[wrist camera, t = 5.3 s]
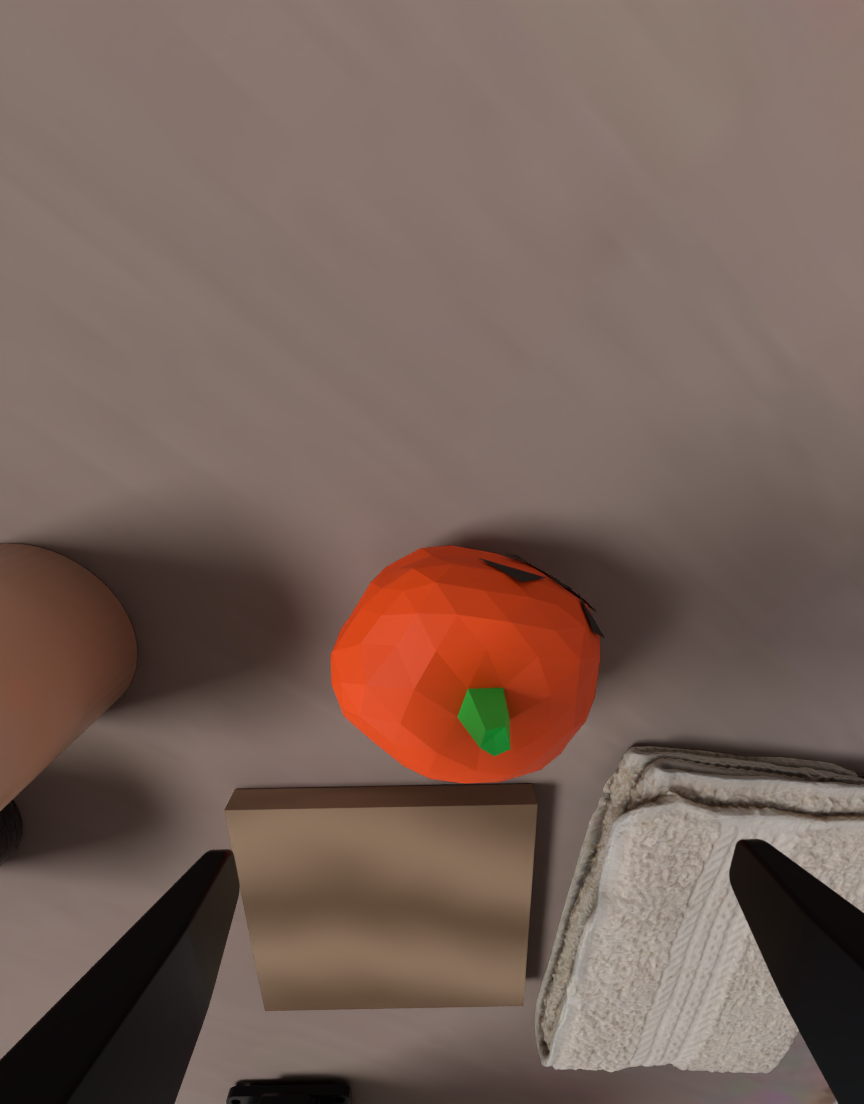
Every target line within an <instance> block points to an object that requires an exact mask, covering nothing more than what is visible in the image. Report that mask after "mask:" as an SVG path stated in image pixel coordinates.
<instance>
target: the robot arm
mask: <svg viewBox="0 0 864 1104" xmlns="http://www.w3.org/2000/svg"><path fill="white" fill-rule="evenodd" d="M729 879H730V884H731V887H732V889H733V892H734V894H735V896H736V898H737V901H738V903H739V905H740V907H741V910H742V912H743V914H744V916H745V919H746V921H747V923H748V925H749V928H750V930H751V932H752V934H753V936H754V939H755V941H756V943H757V945H758V948H759V950H760V952H761V954H762V957H763V959H764V961H765V963H766V966H767V968H768V970H769V972H770V974H771V977H772V979H773V981H774V983H775V985H776V987H777V989H778V992H779V994H780V996H781V998H782V1000H783V1001H784V1003H785V1005H786V1007H787V1009H788V1011H789V1013H790V1015H791V1017H792V1019H793V1020H794V1022H795V1024H796V1026H797V1028H798V1030H799V1032H800V1033H801V1035H802V1037H803V1039H804V1041H805V1043H806V1045H807V1046H808V1048H809V1050H810V1052H811V1054H812V1056H813V1057H814V1059H815V1061H816V1063H817V1065H818V1067H819V1069H820V1070H821V1072H822V1074H823V1076H824V1078H825V1080H826V1081H827V1083H828V1085H829V1087H830V1089H831V1091H832V1093H833V1094H834V1096H835V1098H836V1100H837V1102H838V1104H864V913H863V912H862V911H861V910H859V909H858V908H857V907H855V906H854V905H852V904H851V903H850V902H848V901H847V900H846V899H844V898H843V897H842V896H840V895H839V894H837V893H836V892H835V891H833V890H832V889H831V888H829V887H828V886H827V885H825V884H824V883H822V882H821V881H820V880H818V879H817V878H816V877H814V876H813V875H812V874H810V873H809V872H807V871H806V870H805V869H803V868H802V867H801V866H799V865H798V864H797V863H795V862H794V861H792V860H791V859H790V858H788V857H787V856H786V855H784V854H783V853H782V852H780V851H779V850H777V849H776V848H775V847H773V846H772V845H771V844H769V843H768V842H766V841H764V840H761V839H741V840H739V841H738V842H737V843H736V845H735V849H734V853H733V857H732V861H731V865H730V869H729ZM239 888H240V883H239V877H238V872H237V867H236V862H235V857H234V853H233V852H232V851H231V850H228V849H225V850H210V851H208V852H206V853H205V854H204V855H203V856H202V857H201V858H200V859H199V860H198V861H197V862H196V863H195V864H194V865H193V866H192V867H191V868H190V869H189V870H188V871H187V872H186V873H185V874H184V875H183V876H182V877H181V878H180V879H179V880H178V881H177V882H176V883H175V884H174V885H173V886H172V887H171V888H170V889H169V890H168V891H167V892H166V893H165V894H164V895H163V896H162V897H161V898H160V899H159V900H158V901H157V902H156V903H155V904H154V905H153V906H152V907H151V908H150V909H149V910H148V911H147V912H146V913H145V914H144V915H143V916H142V917H141V918H140V919H139V920H138V921H137V922H136V923H135V924H134V925H133V926H132V927H131V928H130V929H129V930H128V931H127V932H126V933H125V934H124V935H123V936H122V937H121V938H120V940H119V941H118V942H117V943H116V944H115V945H114V946H113V947H112V948H111V949H110V950H109V951H108V952H107V953H106V954H105V955H104V956H103V957H102V958H101V959H100V960H99V961H98V962H97V963H96V964H95V965H94V966H93V967H92V968H91V969H90V970H89V971H88V972H87V973H86V974H85V975H84V976H83V977H82V978H81V979H80V980H79V981H78V982H77V983H76V984H75V985H74V986H73V987H72V988H71V989H70V990H69V991H68V992H67V993H66V994H65V995H64V996H63V997H62V998H61V999H60V1000H59V1001H58V1002H57V1003H56V1004H55V1005H54V1006H53V1007H52V1008H51V1009H50V1010H49V1011H48V1012H47V1013H46V1014H45V1015H44V1016H43V1017H42V1018H41V1019H40V1020H39V1021H38V1022H37V1023H36V1024H35V1025H34V1026H33V1027H32V1028H31V1029H30V1030H29V1031H28V1032H27V1033H26V1034H25V1035H24V1036H23V1037H22V1038H21V1039H20V1040H19V1041H18V1042H17V1044H16V1045H15V1046H14V1047H13V1048H12V1049H11V1050H10V1051H9V1052H8V1053H7V1054H6V1055H5V1056H4V1057H3V1058H2V1059H1V1060H0V1104H174V1103H175V1101H176V1098H177V1095H178V1092H179V1089H180V1087H181V1084H182V1081H183V1078H184V1075H185V1073H186V1070H187V1067H188V1064H189V1061H190V1059H191V1056H192V1053H193V1050H194V1047H195V1045H196V1042H197V1039H198V1036H199V1033H200V1031H201V1028H202V1025H203V1022H204V1019H205V1016H206V1013H207V1010H208V1007H209V1004H210V1000H211V997H212V993H213V990H214V986H215V982H216V979H217V975H218V971H219V967H220V964H221V960H222V956H223V952H224V949H225V945H226V941H227V937H228V934H229V930H230V926H231V922H232V919H233V915H234V911H235V908H236V904H237V900H238V896H239ZM226 1103H227V1104H352V1096H351V1089H350V1087H349V1086H348V1085H345V1084H306V1085H257V1086H234V1087H232V1088H230V1090H229V1093H228V1097H227V1101H226Z"/></svg>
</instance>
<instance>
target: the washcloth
mask: <svg viewBox="0 0 864 1104" xmlns="http://www.w3.org/2000/svg"><path fill="white" fill-rule="evenodd" d="M603 792H604V793H605V794H604V796H603V797H602V798H600V800H599V802H598V808H597V809H596V811H595V812H594V814H593V816H592V818H591V820H590V822H589V828H588V830H587V833H586V836H585V839H584V843H583V845H582V850H581V852H580V855H579V859H578V863H577V866H576V870H575V873H574V877H573V879H572V882H571V887H570V889H569V892H568V896H567V899H566V903H565V906H564V909H563V912H562V917H561V920H560V924H559V927H558V931H557V934H556V939H555V942H554V945H553V950H552V955H551V958H550V960H549V963H548V967H547V971H546V973H545V975H544V979H543V982H542V986H541V989H540V992H539V996H538V999H537V1003H536V1012H535V1033H536V1041H537V1049H538V1053H539V1055H540V1059H541V1063H542V1065H543V1066H546V1067H549V1066H553V1067H554V1068H555V1069H562V1070H566V1069H574V1070H577V1069H580V1068H581V1069H584V1070H595V1071H597V1070H598V1069H599V1070H602V1069H603V1070H606V1071H608V1072H614V1071H619V1070H622V1069H624V1068H628V1067H636V1066H640V1065H643V1066H654V1065H657V1066H659V1065H667V1064H668V1063H671V1064H673V1066H674V1067H677V1068H679V1069H681V1070H687V1069H689V1070H691V1071H697V1070H699V1071H707V1070H708V1071H710V1072H712V1073H713V1072H715V1071H719V1072H721V1073H725V1072H726V1071H729V1072H734V1073H739V1072H745V1073H759V1072H763V1073H766V1074H767V1073H769V1072H770V1071H772V1070H773V1069H774V1068H775V1067H776V1066H778V1064H779V1063H780V1060H781V1059H782V1058H783V1057H784V1056H785V1053H786V1052H788V1051H789V1047H790V1045H791V1043H794V1037H795V1036H797V1035H798V1033H799V1032H798V1031H799V1030H798V1028H797V1026H796V1024H795V1022H794V1020H793V1019H792V1017H791V1015H790V1013H789V1011H788V1009H787V1007H786V1005H785V1003H784V1001H783V1000H782V998H781V996H780V994H779V992H778V989H777V987H776V985H775V983H774V981H773V979H772V977H771V974H770V972H769V970H768V968H767V966H766V963H765V961H764V959H763V957H762V954H761V952H760V950H759V948H758V945H757V943H756V941H755V939H754V936H753V934H752V932H751V930H750V928H749V925H748V923H747V921H746V919H745V916H744V914H743V912H742V910H741V907H740V905H739V903H738V901H737V898H736V896H735V894H734V892H733V889H732V887H731V884H730V879H729V869H730V865H731V861H732V857H733V853H734V849H735V845H736V843H737V842H738V841H739V840H741V839H761V840H764V841H766V842H768V843H769V844H771V845H772V846H773V847H775V848H776V849H777V850H779V851H780V852H782V853H783V854H784V855H786V856H787V857H788V858H790V859H791V860H792V861H794V862H795V863H797V864H798V865H799V866H801V867H802V868H803V869H805V870H806V871H807V872H809V873H810V874H812V875H813V876H814V877H816V878H817V879H818V880H820V881H821V882H822V883H824V884H825V885H827V886H828V887H829V888H831V889H832V890H833V891H835V892H836V893H837V894H839V895H840V896H842V897H843V898H844V899H846V900H847V901H848V902H850V903H851V904H852V905H854V906H855V907H857V908H858V909H859V910H861V911H862V912H863V913H864V779H863V778H859V777H858V775H857V774H856V773H855V772H854V771H851V770H846V769H844V768H842V767H840V766H838V765H835V764H833V763H826V762H820V761H811V760H802V759H792V758H783V757H749V756H748V757H743V756H737V755H731V754H723V753H715V752H709V751H701V750H687V749H678V748H667V747H653V746H644V747H631V748H629V750H628V751H627V752H626V753H625V754H624V756H623V759H622V760H621V761H620V762H619V769H618V770H617V771H616V772H615V773H614V774H613V775H612V776H611V777H610V778H609V780H608V781H607V783H606V784H605V786H604V789H603Z"/></svg>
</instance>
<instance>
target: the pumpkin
mask: <svg viewBox="0 0 864 1104" xmlns="http://www.w3.org/2000/svg"><path fill="white" fill-rule="evenodd" d="M505 554H507V553H505ZM508 555H510V556H513V557H515V558H518V559H520V560H523V559H521V558H520V557H519V556H516V555H512V554H508ZM523 561H524V560H523ZM524 562H526V561H524ZM524 562H521V561H518V560H515V559H512V558H509V557H505V556H502V555H499V554H496V553H491V552H486V551H480V550H475V549H469V548H463V547H458V546H452V545H449V546H439V547H428V548H420V549H418V550H416V551H415V552H413V553H411V554H409V555H407V556H405V557H403V558H402V559H400V560H398V561H396V562H394V563H392V564H391V565H389V566H387V567H386V568H385V569H384V570H383V571H382V572H381V573H380V574H379V575H378V576H377V577H376V578H375V579H374V580H373V581H372V582H371V583H370V585H369V586H368V588H367V590H366V591H365V593H364V595H363V596H362V598H361V599H360V601H359V603H358V604H357V606H356V608H355V609H354V611H353V613H352V614H351V616H350V617H349V619H348V620H347V621H346V623H345V624H344V626H343V627H342V629H341V631H340V634H339V636H338V639H337V641H336V644H335V646H334V649H333V651H332V654H331V681H332V686H333V689H334V692H335V694H336V697H337V699H338V702H339V705H340V707H341V710H342V712H343V715H344V717H346V718H347V719H348V720H349V721H350V722H351V723H352V724H354V725H355V726H356V727H357V728H358V729H359V730H360V731H362V732H363V733H364V734H365V735H366V736H367V737H368V738H370V739H371V740H372V741H373V742H375V743H376V744H377V745H378V746H379V747H381V748H382V749H383V750H384V751H386V752H387V753H388V754H389V755H391V756H392V757H393V758H394V759H396V760H397V761H398V762H399V763H401V764H402V765H403V766H405V767H407V768H409V769H411V770H413V771H415V772H417V773H419V774H421V775H423V776H426V777H428V778H430V779H435V780H442V781H450V782H457V783H464V784H465V783H489V782H502V781H505V780H509V779H512V778H515V777H519V776H522V775H525V774H528V773H532V772H535V771H538V770H541V769H542V768H543V767H545V766H546V765H547V764H548V763H550V762H551V761H552V760H553V759H555V758H556V757H557V756H558V755H559V754H561V752H562V751H563V750H564V748H565V747H566V745H567V744H568V742H569V741H570V740H571V739H572V737H573V736H574V735H575V734H576V733H577V731H578V730H579V729H580V728H581V726H582V725H583V724H584V723H585V722H586V719H587V717H588V714H589V711H590V709H591V706H592V703H593V701H594V698H595V692H596V685H597V678H598V671H599V664H600V636H601V637H603V638H604V636H603V634H602V633H601V631H600V629H599V627H598V626H597V624H596V622H595V620H594V619H593V617H592V615H591V613H590V610H589V608H588V607H590V608H591V609H593V608H592V607H591V606H590V605H589V604H588V603H587V602H586V601H585V600H584V599H583V598H581V596H580V595H577V594H576V593H575V592H573V591H572V590H571V589H572V588H570V587H568V586H566V585H565V584H563V583H561V582H560V581H559V580H557V579H556V578H554V577H552V576H550V575H549V574H547V573H545V572H543V571H541V570H539V569H538V568H536V567H534V566H532V565H530V564H529V563H527V562H526V563H524ZM593 610H594V609H593ZM594 611H595V610H594Z"/></svg>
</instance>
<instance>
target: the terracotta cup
mask: <svg viewBox="0 0 864 1104" xmlns="http://www.w3.org/2000/svg"><path fill="white" fill-rule="evenodd" d="M136 664H137V643H136V637H135V633H134V630H133V627H132V624H131V622H130V620H129V617H128V615H127V613H126V611H125V610H124V608H123V607H122V605H121V603H120V602H119V600H118V599H117V598H116V597H115V595H114V594H113V593H112V592H111V590H110V589H109V588H108V587H107V586H106V585H105V584H104V583H103V582H102V581H101V580H100V579H98V578H97V577H96V576H95V575H94V574H92V573H91V572H90V571H89V570H87V569H86V568H84V567H83V566H81V565H79V564H78V563H76V562H74V561H73V560H71V559H69V558H67V557H65V556H63V555H60V554H58V553H55V552H53V551H50V550H47V549H43V548H40V547H36V546H31V545H25V544H13V543H4V544H0V811H1V810H2V809H3V808H4V807H5V806H6V805H7V804H8V803H9V802H10V801H12V800H13V799H14V798H15V797H16V796H17V795H18V794H19V793H20V792H21V791H22V790H23V789H24V788H25V787H26V786H27V785H28V784H29V783H30V782H32V781H33V780H34V779H35V778H36V777H37V776H38V775H39V774H40V773H41V772H42V771H43V770H44V769H45V768H46V767H47V766H48V765H49V764H50V763H52V762H53V761H54V760H55V759H56V758H57V757H58V756H59V755H60V754H61V753H62V752H63V751H64V750H65V749H66V748H67V747H68V746H69V745H70V744H72V743H73V742H74V741H75V740H76V739H77V738H78V737H79V736H80V735H81V734H82V733H83V732H84V731H85V730H86V729H87V728H88V727H89V726H90V725H92V724H93V723H94V722H95V721H96V720H97V719H98V718H99V717H100V716H101V715H102V714H103V713H104V712H105V711H106V710H107V709H108V708H109V707H110V706H111V705H113V704H114V703H115V702H116V701H117V700H118V699H119V698H120V697H121V696H122V695H123V694H124V692H125V691H126V690H127V688H128V687H129V685H130V683H131V681H132V679H133V676H134V673H135V670H136Z"/></svg>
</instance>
